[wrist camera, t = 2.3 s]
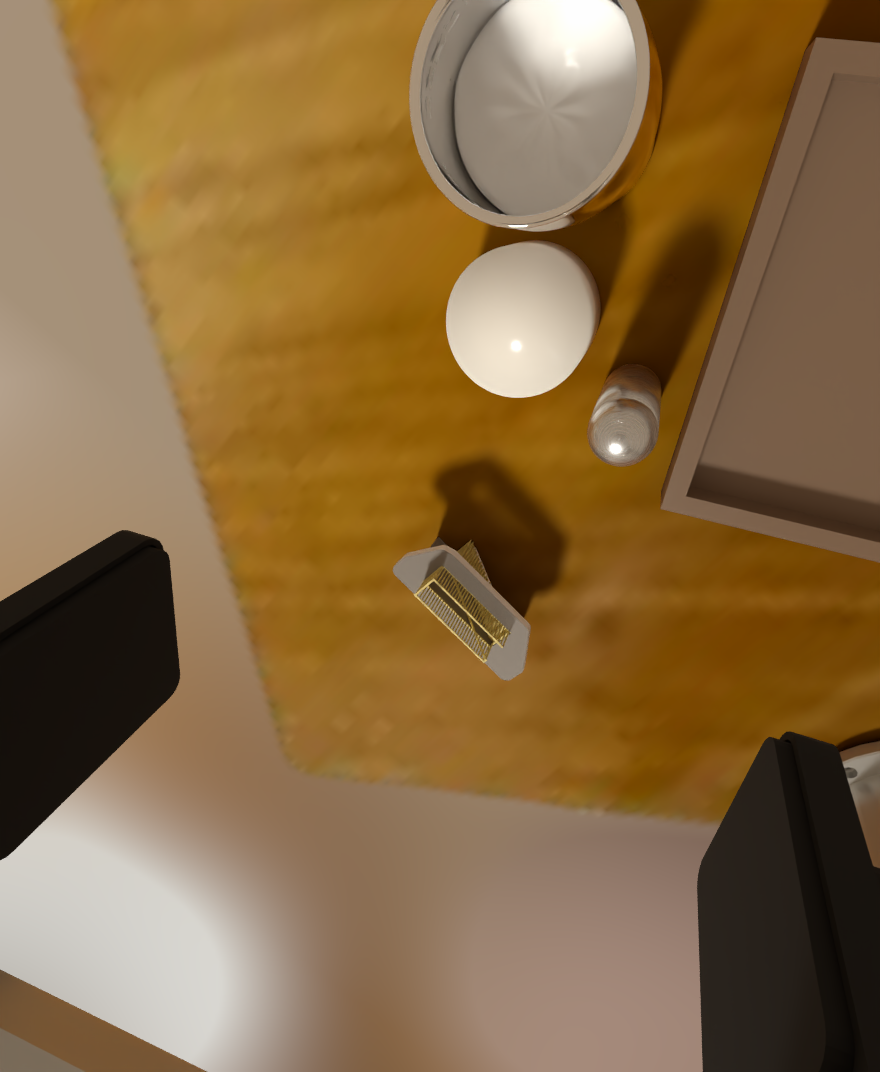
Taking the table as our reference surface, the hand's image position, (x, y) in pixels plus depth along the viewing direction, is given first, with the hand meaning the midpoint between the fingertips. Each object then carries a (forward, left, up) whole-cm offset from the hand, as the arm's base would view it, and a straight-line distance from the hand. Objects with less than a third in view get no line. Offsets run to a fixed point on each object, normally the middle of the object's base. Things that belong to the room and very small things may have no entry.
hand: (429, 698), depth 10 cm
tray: (+3, -12, -28) cm, 31 cm away
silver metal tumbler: (+9, +3, -28) cm, 30 cm away
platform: (-15, +4, -29) cm, 33 cm away
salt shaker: (-2, -2, -28) cm, 28 cm away
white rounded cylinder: (+1, +4, -28) cm, 29 cm away
